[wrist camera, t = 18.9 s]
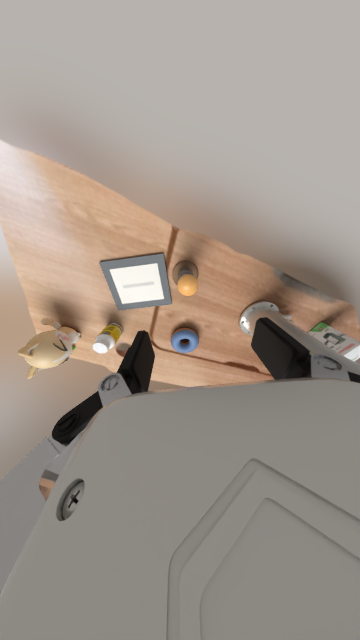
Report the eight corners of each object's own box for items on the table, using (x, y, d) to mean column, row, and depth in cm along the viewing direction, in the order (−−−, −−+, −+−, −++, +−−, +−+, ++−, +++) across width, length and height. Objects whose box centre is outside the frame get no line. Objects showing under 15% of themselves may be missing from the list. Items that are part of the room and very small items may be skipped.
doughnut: (186, 352, 50) (187, 360, 46) (165, 339, 47) (164, 346, 43) (203, 334, 47) (205, 341, 43) (182, 320, 45) (182, 325, 40)
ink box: (320, 321, 44) (363, 343, 34) (329, 326, 45) (374, 349, 35) (299, 339, 48) (332, 364, 38) (308, 343, 49) (343, 368, 39)
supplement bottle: (118, 321, 43) (104, 339, 34) (125, 333, 45) (113, 353, 37) (104, 323, 43) (86, 342, 35) (111, 336, 46) (96, 356, 37)
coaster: (196, 259, 34) (197, 259, 33) (198, 285, 37) (198, 286, 37) (170, 263, 34) (170, 263, 34) (174, 288, 38) (174, 289, 37)
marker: (192, 266, 34) (197, 274, 24) (193, 281, 36) (198, 294, 27) (176, 268, 34) (176, 276, 25) (178, 283, 36) (179, 296, 27)
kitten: (86, 351, 50) (54, 389, 37) (58, 345, 48) (13, 382, 35) (86, 320, 43) (46, 353, 30) (52, 311, 41) (-6, 342, 28)
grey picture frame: (163, 253, 33) (163, 253, 32) (171, 303, 40) (171, 304, 39) (100, 262, 34) (98, 262, 33) (119, 309, 41) (118, 310, 40)
